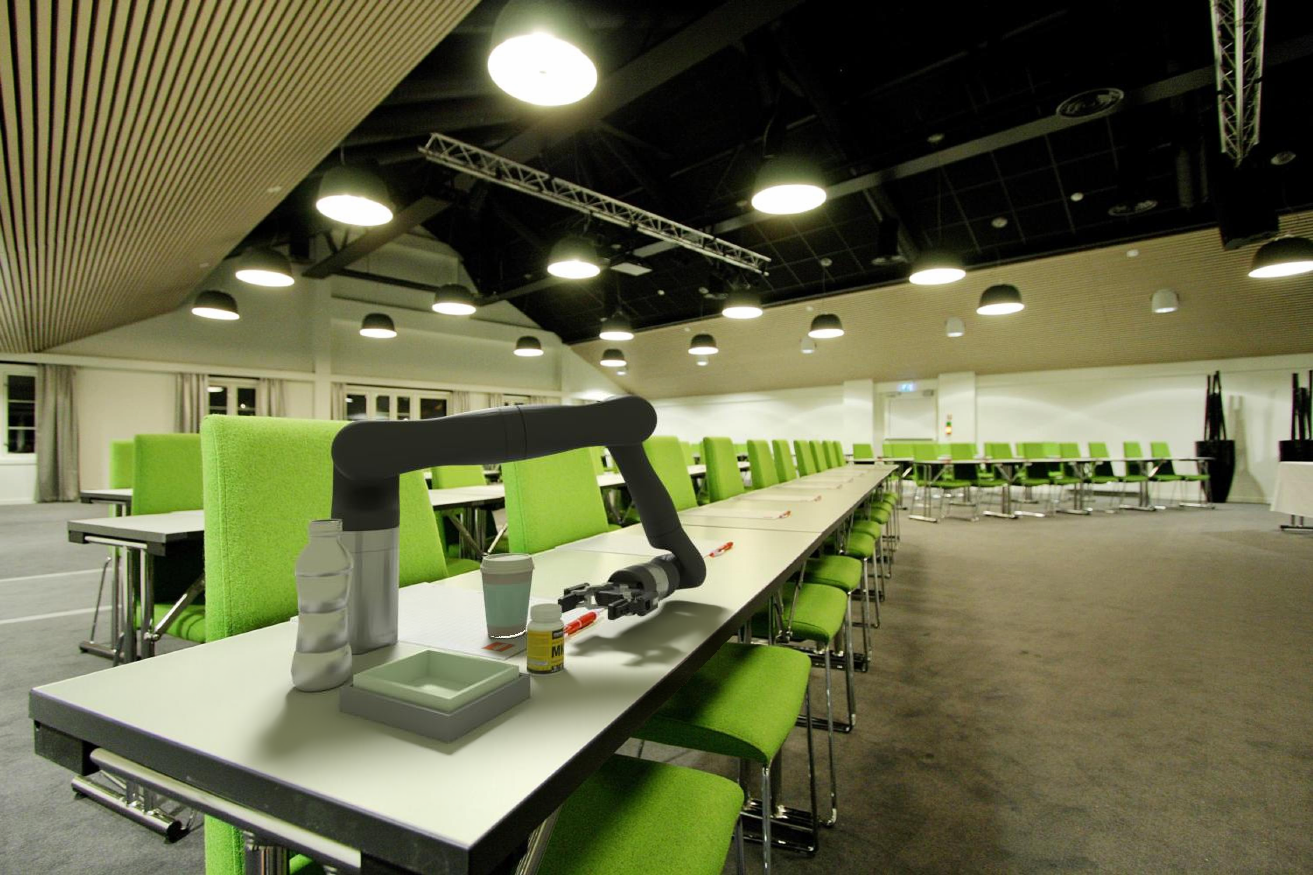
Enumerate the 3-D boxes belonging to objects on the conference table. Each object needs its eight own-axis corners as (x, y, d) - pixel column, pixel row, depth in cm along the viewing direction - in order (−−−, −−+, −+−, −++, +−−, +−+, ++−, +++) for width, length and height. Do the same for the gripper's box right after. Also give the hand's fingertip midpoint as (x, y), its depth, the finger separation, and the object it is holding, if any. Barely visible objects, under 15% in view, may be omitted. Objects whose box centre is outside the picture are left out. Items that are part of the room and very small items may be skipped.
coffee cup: (531, 623, 97) (531, 551, 97) (537, 638, 89) (538, 559, 89) (477, 628, 94) (478, 554, 95) (479, 644, 86) (480, 562, 87)
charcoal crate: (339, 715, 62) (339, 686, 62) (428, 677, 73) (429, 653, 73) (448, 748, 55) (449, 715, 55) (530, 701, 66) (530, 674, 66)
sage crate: (352, 708, 63) (353, 674, 63) (428, 677, 72) (428, 647, 72) (449, 736, 56) (449, 698, 56) (518, 698, 65) (519, 665, 65)
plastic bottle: (287, 702, 65) (291, 524, 66) (293, 682, 71) (297, 519, 72) (352, 692, 68) (355, 521, 69) (352, 673, 74) (355, 516, 75)
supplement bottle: (555, 680, 72) (556, 612, 72) (520, 678, 73) (520, 610, 73) (569, 667, 76) (569, 603, 77) (535, 664, 77) (536, 601, 78)
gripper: (602, 561, 101) (544, 578, 86) (676, 568, 94) (627, 587, 80) (601, 605, 100) (543, 629, 86) (676, 615, 94) (627, 643, 80)
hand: (584, 609), depth 83 cm, fingers open, 8 cm apart
